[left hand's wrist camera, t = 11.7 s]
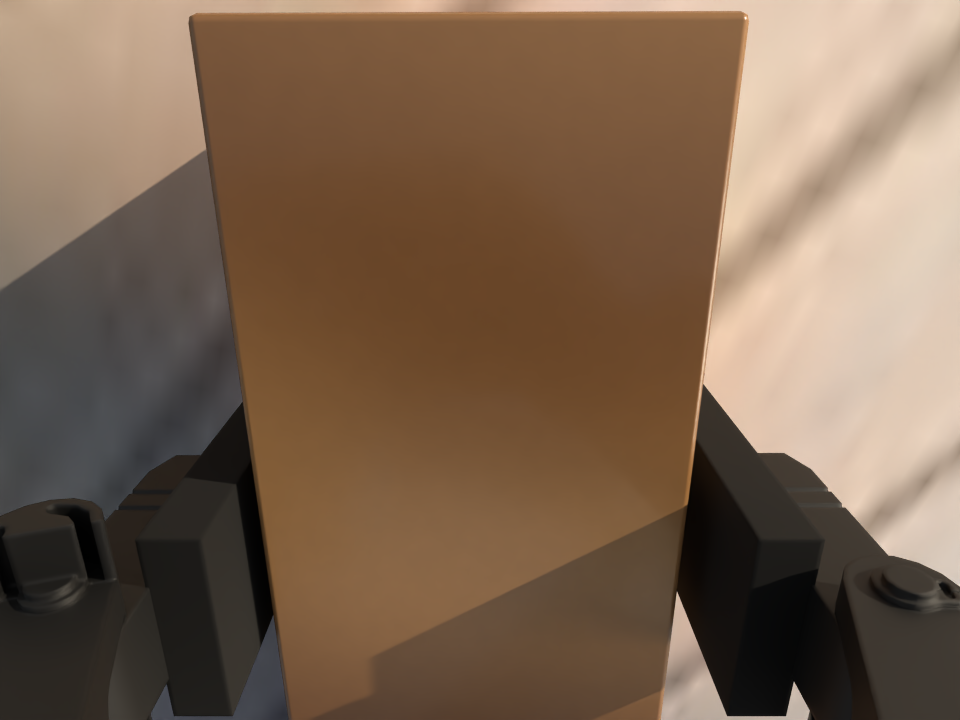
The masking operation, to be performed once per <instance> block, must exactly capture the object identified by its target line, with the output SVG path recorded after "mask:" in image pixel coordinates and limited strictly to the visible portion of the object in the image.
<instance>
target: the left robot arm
mask: <svg viewBox="0 0 960 720" xmlns="http://www.w3.org/2000/svg"><path fill="white" fill-rule="evenodd" d="M677 592H678V594H679V597H680V599H681V602H682V604H683V607H684V609H685V612H686V614H687V617H688V619H689V622H690V624H691V627H692V629H693V632H694V634H695V637H696V639H697V642H698V644H699V647H700V649H701V652H702V654H703V657H704V659H705V662H706V664H707V667H708V669H709V672H710V674H711V677H712V679H713V682H714V684H715V687H716V689H717V692H718V694H719V697H720V699H721V702H722V704H723V707H724V709H725V712H726V714H727V716H786V714H787V709H788V705H789V700H790V696H791V691H792V687H793V682H795V684H796V686H797V688H798V689H799V691H800V693H801V695H802V697H803V699H804V700H805V702H806V704H807V706H808V708H809V710H810V712H809V717H808V720H960V587H959V586H958V585H957V584H955V583H954V582H952V581H951V580H950V579H948V578H947V577H945V576H944V575H943V574H941V573H939V572H937V571H935V570H932V569H930V568H928V567H926V566H924V565H922V564H920V563H917V562H913V561H910V560H906V559H902V558H899V557H895V556H888V555H887V554H886V553H885V551H884V550H883V549H882V548H881V547H880V546H879V545H878V544H877V542H876V541H875V540H874V539H873V538H872V537H871V536H870V535H869V534H868V532H867V531H866V530H865V529H864V528H863V527H862V526H861V525H860V523H859V522H858V521H857V520H856V519H855V518H854V517H853V516H852V515H851V513H850V512H849V511H848V510H847V509H846V508H842V503H841V502H840V501H839V500H838V499H837V498H836V497H835V496H834V494H833V493H832V492H828V488H827V487H826V485H825V484H824V483H823V482H822V481H821V480H820V479H819V478H818V477H817V475H816V474H815V473H814V472H813V471H812V470H811V469H810V468H808V467H806V466H805V465H803V464H801V463H800V462H798V461H796V460H795V459H793V458H791V457H790V456H788V455H786V454H785V453H757V452H756V451H755V449H754V448H753V447H752V446H751V444H750V443H749V442H748V440H747V439H746V438H745V437H744V435H743V434H742V433H741V432H740V430H739V429H738V428H737V426H736V425H735V424H734V423H733V421H732V420H731V419H730V418H729V416H728V415H727V414H726V412H725V411H724V410H723V409H722V407H721V406H720V405H719V404H718V402H717V401H716V400H715V398H714V397H713V396H712V395H711V393H710V392H709V391H708V389H707V388H706V387H705V386H704V384H703V388H702V396H701V404H700V412H699V420H698V427H697V435H696V443H695V451H694V459H693V467H692V475H691V483H690V491H689V499H688V506H687V514H686V522H685V530H684V538H683V546H682V554H681V562H680V570H679V578H678V586H677ZM272 617H273V608H272V601H271V594H270V587H269V580H268V573H267V566H266V559H265V552H264V545H263V538H262V531H261V524H260V517H259V510H258V503H257V496H256V489H255V483H254V476H253V469H252V462H251V455H250V448H249V441H248V434H247V427H246V420H245V413H244V406H243V402H242V403H241V405H240V406H239V407H238V409H237V410H236V411H235V412H234V414H233V415H232V416H231V418H230V419H229V420H228V421H227V423H226V424H225V425H224V426H223V428H222V429H221V430H220V432H219V433H218V434H217V435H216V437H215V438H214V439H213V440H212V442H211V443H210V444H209V446H208V447H207V448H206V449H205V451H204V452H203V453H202V454H201V455H176V456H174V457H173V458H171V459H169V460H168V461H166V462H164V463H163V464H161V465H159V466H158V467H156V468H154V469H153V470H151V471H149V473H148V474H147V475H146V476H145V477H144V478H143V479H142V480H141V482H140V483H139V484H138V485H137V486H136V487H135V488H134V489H133V494H129V495H128V496H127V497H126V498H125V500H124V501H123V502H122V503H121V504H120V505H119V510H115V511H114V512H113V513H112V514H111V515H110V517H109V518H108V519H107V520H106V521H105V520H104V516H103V512H102V509H101V508H100V507H98V506H97V505H96V504H94V503H93V502H92V501H86V500H80V499H75V498H71V499H57V500H48V501H44V502H40V503H36V504H31V505H27V506H24V507H22V508H19V509H17V510H14V511H12V512H9V513H7V514H4V515H2V516H0V720H152V717H151V711H152V710H153V708H154V706H155V704H156V702H157V700H158V698H159V697H160V695H161V693H162V691H163V689H164V687H165V685H166V684H167V687H168V691H169V696H170V700H171V705H172V709H173V714H174V716H233V714H234V712H235V709H236V707H237V704H238V702H239V699H240V697H241V694H242V692H243V689H244V687H245V684H246V682H247V679H248V677H249V674H250V672H251V669H252V667H253V664H254V662H255V659H256V657H257V654H258V652H259V649H260V647H261V644H262V642H263V639H264V637H265V634H266V632H267V629H268V627H269V624H270V622H271V619H272Z"/></svg>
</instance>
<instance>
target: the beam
mask: <svg viewBox="0 0 960 720" xmlns="http://www.w3.org/2000/svg"><path fill="white" fill-rule="evenodd" d="M748 24H749V20H748V15H747V14H745V13H743V12H741V11H642V12H376V13H196V14H194V15H192V16H190V17H189V30H190V37H191V44H192V51H193V58H194V65H195V72H196V79H197V86H198V93H199V100H200V107H201V114H202V121H203V128H204V135H205V142H206V149H207V155H208V162H209V169H210V176H211V183H212V190H213V197H214V204H215V211H216V218H217V225H218V232H219V239H220V246H221V253H222V260H223V267H224V274H225V281H226V288H227V295H228V302H229V309H230V316H231V322H232V329H233V336H234V343H235V350H236V357H237V364H238V371H239V378H240V385H241V392H242V399H243V406H244V413H245V420H246V427H247V434H248V441H249V448H250V455H251V462H252V469H253V476H254V483H255V489H256V496H257V503H258V510H259V517H260V524H261V531H262V538H263V545H264V552H265V559H266V566H267V573H268V580H269V587H270V594H271V601H272V608H273V615H274V622H275V629H276V636H277V643H278V649H279V656H280V663H281V670H282V677H283V684H284V691H285V698H286V705H287V712H288V719H289V720H661V712H662V704H663V696H664V688H665V680H666V673H667V665H668V657H669V649H670V641H671V633H672V625H673V617H674V609H675V601H676V593H677V586H678V578H679V570H680V562H681V554H682V546H683V538H684V530H685V522H686V514H687V506H688V499H689V491H690V483H691V475H692V467H693V459H694V451H695V443H696V435H697V427H698V420H699V412H700V404H701V396H702V388H703V380H704V372H705V364H706V356H707V348H708V340H709V333H710V325H711V317H712V309H713V301H714V293H715V285H716V277H717V269H718V261H719V253H720V246H721V238H722V230H723V222H724V214H725V206H726V198H727V190H728V182H729V174H730V167H731V159H732V151H733V143H734V135H735V127H736V119H737V111H738V103H739V95H740V87H741V80H742V72H743V64H744V56H745V48H746V40H747V32H748Z"/></svg>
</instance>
